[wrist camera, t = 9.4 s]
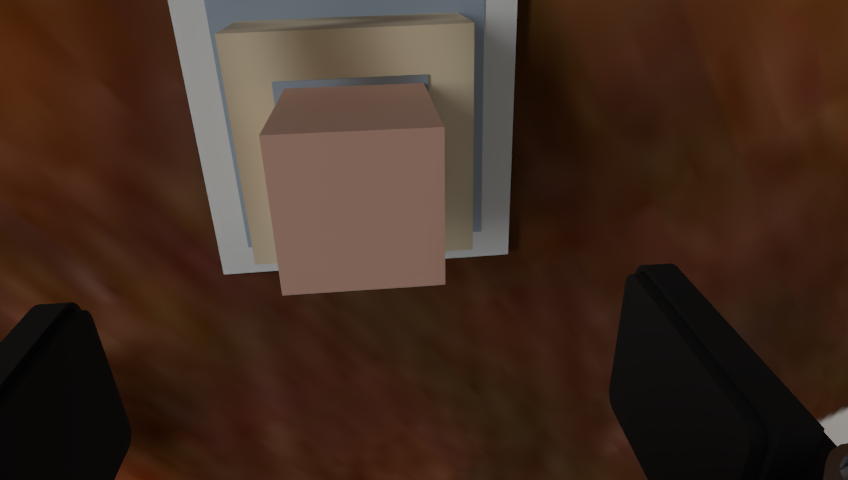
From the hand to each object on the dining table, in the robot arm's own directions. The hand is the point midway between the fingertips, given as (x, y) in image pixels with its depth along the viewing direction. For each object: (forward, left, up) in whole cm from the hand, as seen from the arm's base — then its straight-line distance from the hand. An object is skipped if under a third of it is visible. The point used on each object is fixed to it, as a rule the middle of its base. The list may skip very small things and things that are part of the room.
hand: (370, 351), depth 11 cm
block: (0, 0, -13) cm, 13 cm away
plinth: (0, +1, -18) cm, 18 cm away
